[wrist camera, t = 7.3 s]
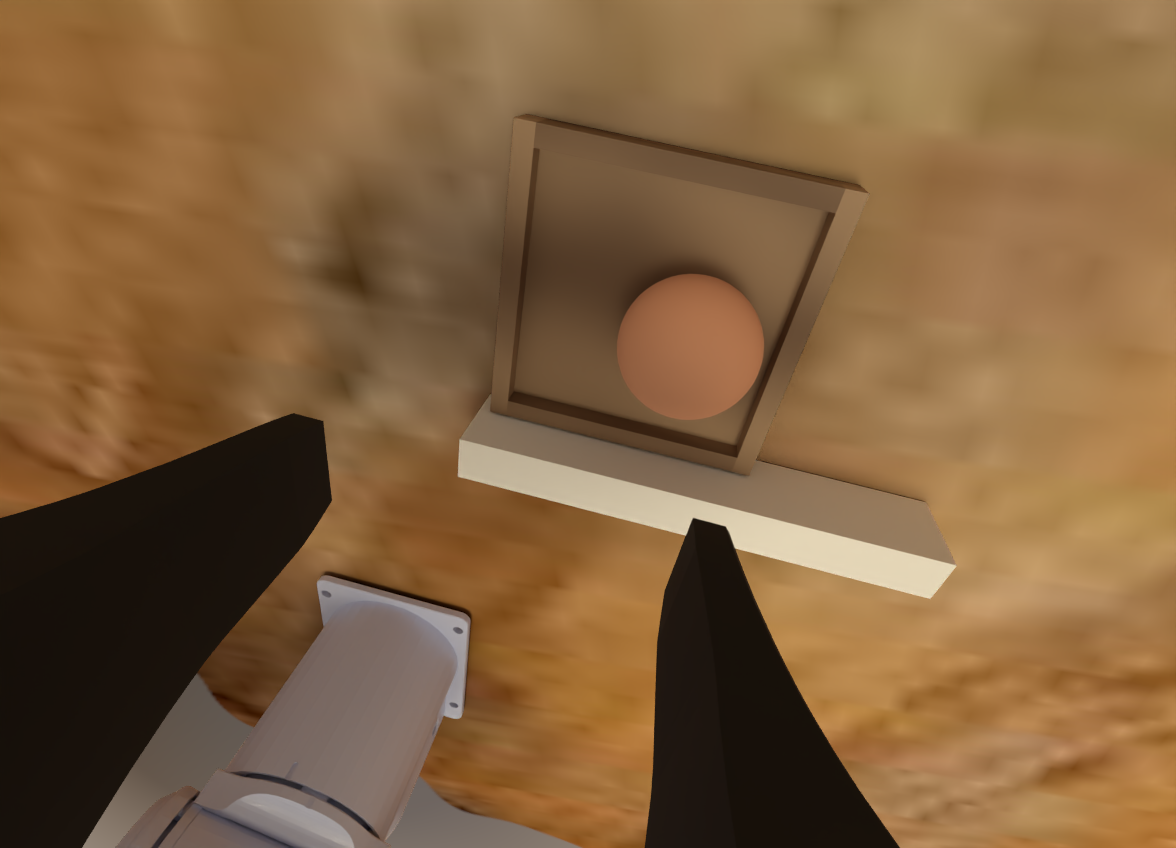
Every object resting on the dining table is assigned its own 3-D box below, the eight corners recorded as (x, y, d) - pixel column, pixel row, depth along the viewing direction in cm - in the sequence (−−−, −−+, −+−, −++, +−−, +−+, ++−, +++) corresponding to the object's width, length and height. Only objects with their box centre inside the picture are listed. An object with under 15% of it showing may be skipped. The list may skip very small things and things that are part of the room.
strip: (904, 534, 21) (930, 598, 18) (487, 429, 22) (457, 476, 19) (926, 502, 20) (956, 565, 17) (490, 394, 21) (459, 439, 18)
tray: (747, 455, 20) (748, 476, 19) (500, 394, 21) (490, 411, 20) (859, 185, 15) (869, 194, 14) (526, 114, 15) (513, 117, 14)
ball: (688, 369, 19) (765, 437, 16) (582, 380, 17) (649, 459, 14) (722, 252, 17) (819, 307, 14) (605, 252, 15) (689, 314, 12)
